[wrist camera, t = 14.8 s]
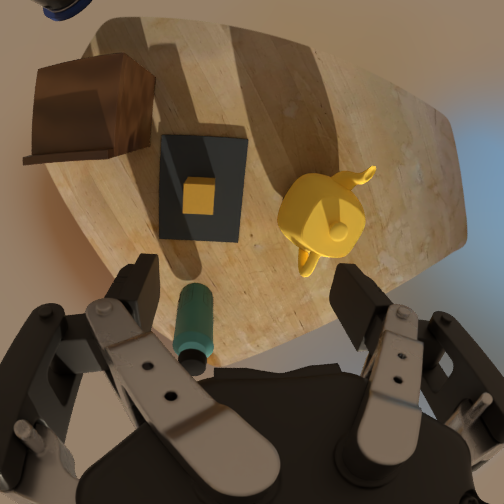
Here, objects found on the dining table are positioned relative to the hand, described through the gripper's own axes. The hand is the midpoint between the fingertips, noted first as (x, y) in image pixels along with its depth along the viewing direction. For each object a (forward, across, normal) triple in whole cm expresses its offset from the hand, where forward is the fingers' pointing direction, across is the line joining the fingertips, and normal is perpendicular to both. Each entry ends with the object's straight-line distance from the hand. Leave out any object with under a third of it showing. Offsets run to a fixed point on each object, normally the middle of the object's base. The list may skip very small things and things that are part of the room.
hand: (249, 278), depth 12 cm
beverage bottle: (+36, +4, +24) cm, 44 cm away
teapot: (+36, -16, +5) cm, 40 cm away
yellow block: (+36, +4, +4) cm, 36 cm away
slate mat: (+36, +4, +4) cm, 37 cm away
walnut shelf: (+36, +19, -9) cm, 42 cm away
